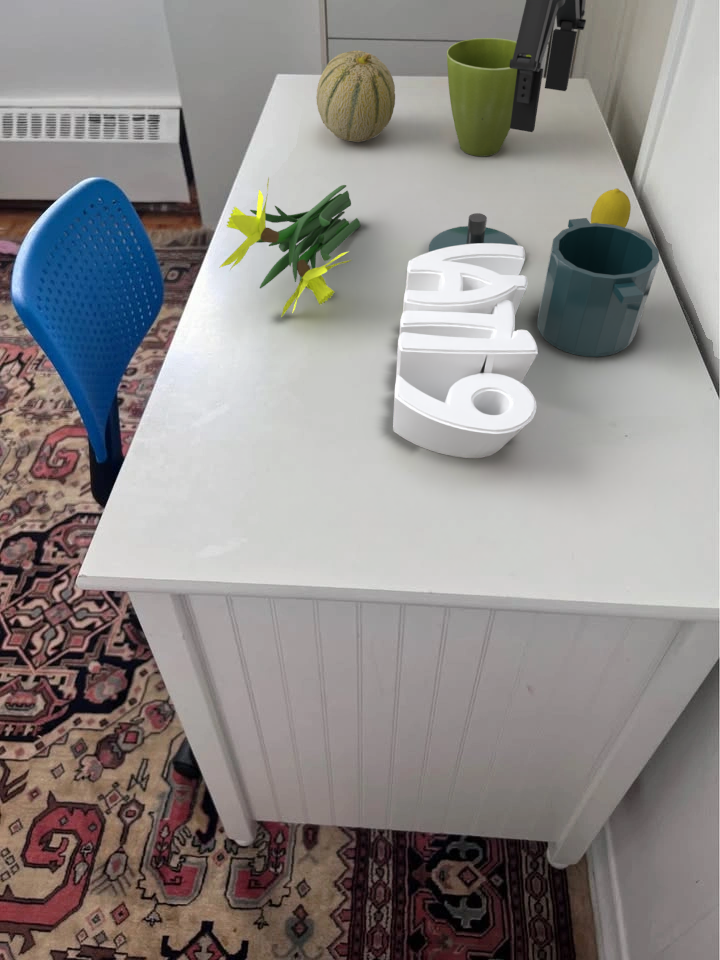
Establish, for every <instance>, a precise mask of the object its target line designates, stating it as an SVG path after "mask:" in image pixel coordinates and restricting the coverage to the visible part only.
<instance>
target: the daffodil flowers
mask: <svg viewBox="0 0 720 960" xmlns="http://www.w3.org/2000/svg"><path fill="white" fill-rule="evenodd" d="M269 182H270V177H268V178H267V184H266V186H267V187H266V188H267V189H266V190H267V191H269ZM345 188H347V185H346V184H341V185H340V186H338V187H337V188H334V190H333V191H331V192H329V193H328V194H327V195H326V196H325V197H324V198H322V200H320V201H319V202H318V203H317V204H316V205H315V206H313V207H312V208H311V209H310V210H307V211H303V212H299V213H295V214H287V213H286V212H284V211H283V210H282V209H281V208H280V207H279V206H277V205H274V208H275V210H276V211H277V214H279V215H277V214H271V213H267V212H266V210H267V209H266V208H267V200H268V193H269V192H266V198H265V202H264V195H263V193H262V191H261V190H260V189H258V194H257V203H256V210H255V209H250V210H249V212H251V213H252V214H254V215H255V216H254V215H247V214H246V213H244V212H243V211H241V210H240V209H239V208H238V207H237V206H233V207H232V208H233V209H231V213H229V215H230V217H227V219H228V220H227V221H226V223H227V224H225V227H227V228H229V229H233V230H237V231H239V232H241V234H243V235H244V236H245V237H246V238H245V240H244V241H243V242H242V243H241V244H240V245H239V246H238V247H237V248H236V249H235V250H234V251H233V252H232V253H231V254H230V255H229V256H228V257H227V258H226V259H225V261H223V263H222V264H221V265H220V266H219V269H221V268H223V267H225V266H228V265H231V264H232V265H231V268H230V270H229V271H231V270H232V269H233V268H234V267H235V266H236V265H238V264H240V262H241V261H242V260H243V259H244V258H245V256H246V254H247V253H248V251H249V249H250V247H251V246H253V245H255V244H257V243H258V244H259V243H260V244H261V243H269V244H268V247H273V246H277V245H278V249H279V250H280V251H281V252H282V253H285V254H284V255H283V256H282V257H281V258H279V260H278V261H277V262H276V263H275V264H274V265H273V266H272V268H271V269H270V270H269V271H268V273H267V274H266V275H265V277H264V278H263V280H262V282H261V283H260V286H259V289H262V288H264V287H265V286H266V285H268V284H269V283H270V282H271V281H273V280H274V279H275V278H276V277H277V276H278V275H280V274H281V273H282V272H283V271H284V270H285V269H287V268H288V267H291V266H292V274H293V279H294V283H296V282H297V278H298V276H299V282H298V285H297V286H296V288H295V291H294V292H293V294H291V295H290V297H289V298H288V299H287V301H286V302H285V303H284V305H283V307H282V313H281V315H280V318H283V316H284V315H285V314H286V312H287V311H288V310H289V308H290V307H291V306H292V305H293V309H292V312H291V313H292V314H293V313H294V312H295V309H296V307H297V302H298V300H299V298H300V296H301V295H302V293H303V291H304V290H305V289H306V288H307V289H308V290H310V291H312V294H313V295H314V296H315V299H316V301H317V303H318V304H319V305H323V304H326V302H328V301H329V299H331V298H332V297H333V296H334V294H335V293H336V291H335V290H333V289H332V288H331V287H329V286H328V285H327V282H326V280H325V278H324V276H323V275H324V274H326V273H327V272H328V271H329V270H331V269H333V268H334V267H335V268H336V266H339V265H341V264H347V263H349V262H351V261H352V259H349V260H343V261H340V262H336V263H333V262H335V261H336V260H338V259H340V258H342V257H343V256H345V255H346V254H347V253H349V252H350V251H346V252H341V253H340V254H338V255H336V256H335V257H334V258H332V256H331V254H332V253H333V252H334V251H335V250H336V249H337V248H339V246H341V244H342V243H344V242H345V241H346V240H347V239H348V238H349V237H350V236H351V235H352V234H354V233H355V231H357V230H358V229H359V228H361V222H360V220H359V218H358V217H355V219H353V220H352V221H351V222H349V220H347V219H346V218H345V217H344V218H342V219H341V217H342V216H343V215H344V214H345V212H346V211H345V210H347V209H348V208H349V207H351V206H352V201H351V198H350V193H349V191H348V190H346V191H344V192H343V193H340V192H342V191H343V190H344V189H345ZM266 222H270V223H273V224H276V223H286V222H289V223H291V224H290V225H289V226H287V227H285V228H283V229H281V230H278V231H277V230H274V229H272V228H270V227H266V226H267V225H266ZM287 251H288V252H287ZM319 251H320V252H319ZM318 252H319V253H320V257H321V259H322V260H323V261H324V262H326V261H328V262H327V263H325V264H324V265H321V266H317V264H316V263H317V253H318ZM309 263H310V265H309ZM332 263H333V264H332ZM316 266H317V267H316ZM293 303H294V304H293Z"/></svg>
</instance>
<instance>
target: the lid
mask: <svg viewBox="0 0 720 960" xmlns="http://www.w3.org/2000/svg"><path fill="white" fill-rule="evenodd" d="M487 221H488V217H487V215H486V214H484V213H478V212H477V213H471V214H470V215H469V216H468V221H467V225H465V226H457V227H452V228H449V229H446V230H443V231H442V232H439V233H438V234H436V235H435V236H434V237H433V238H432V239H431V241H430V242H429V245H428V252H431V251H434V250H438V249H442V248H446V247H451V246H457V245H465V244H477V243H497V244H510V245H518V246H520V245H519V244H518V242H517V241H516V240H515V239H514V238H513V237H512V236H510V235H509V234H507V233H505V232H503V231H501V230H498V229H495V228H490V227H487Z"/></svg>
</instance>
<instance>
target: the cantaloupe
mask: <svg viewBox="0 0 720 960" xmlns="http://www.w3.org/2000/svg"><path fill="white" fill-rule="evenodd" d="M395 91H396V85H395V82H394V78H393V75H392V74H391V71H390V70H389V68H388V67H387V65H386V64H385V63H384V62H382V61H381V60H380V59H379V58H378V57H377V56H376V55H374V54H372V53H370V52H366V51H364V50H350V51H345V52H342V53H339V54H337V55H336V56H334V57H333V58H331V60H329V62H328V63H327V65H326V66H325V68H324V70H323V71H322V74H321V76H320V78H319V80H318V83H317V87H316V97H315V98H316V99H315V100H316V106H317V112H318V113H319V116H320V120H321V122H322V123H323V124H324V126H325V128H326V129H327V130H329V131H330V132H331V133H332V134H333V135H334V136H335V137H337V138H338V139H341V140H344V141H347V142H354V143H362V142H366V141H370V140H371V139H374V138H375V137H377V136H378V135H380V134H381V133H382V132H383V131H384V130H385V129H386V128H387V126H388V125H389V123H390V122H391V119H392V117H393V114H394V109H395V105H396V92H395Z"/></svg>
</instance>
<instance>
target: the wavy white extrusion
mask: <svg viewBox="0 0 720 960" xmlns="http://www.w3.org/2000/svg"><path fill="white" fill-rule="evenodd" d="M518 245H519V244H518ZM518 245H510V244H497V243H477V244H465V245H457V246H451V247H446V248H442V249H438V250H434V251H431V252H429V251H428V252H425V253H422V254H420V255H418V256H415V257H413V258H411V259H410V260H408V262H407V267H406V278H405V279H406V280H405V291H404V294H403V305H402V314H401V316H400V320H399V321H400V323H399V334H398V335H399V336H398V338H397V350H396V351H397V353H396V373H395V376H396V377H395V385H394V395H393V396H394V400H393V416H392V417H393V418H392V419H393V420H392V431H393V432H394V433H395V434H397V435H398V436H399V437H401V438H403V439H404V440H406V441H408V442H409V443H412V444H413V445H416V446H417V447H420V448H422V449H425V450H428V451H431V452H433V453H438V454H441V455H446V456H449V457H456V458H464V459H482V458H486V457H489V456H493V455H494V454H496V453H497V452H499V451H500V450H501V449H502V448H503V447H504V446H505V445H507V443H509V442H510V441H511V440H512V439H513V438H514V437H515V436H517V434H518V433H520V432H521V430H523V429H524V428H526V426H527V425H529V423H530V422H531V421H532V420H533V419H534V417H535V415H536V413H537V401H536V398H535V396H534V394H533V393H532V392H531V390H530V389H529V387H527V386H526V385H524V384H523V381H524V379H525V377H526V376H527V373H528V371H529V369H530V368H531V366H532V365H533V362H534V361H535V359H536V357H537V356H538V353H539V352H538V351H539V350H538V345H537V343H536V342H537V341H536V340H535V338H534V337H533V335H532V334H531V333H530V332H529V331H528V330H526V329H517V330H515V327H516V326H515V325H516V317H515V316H516V314H517V312H518V309H519V307H520V304H521V302H522V299H523V297H524V295H525V292H526V290H527V288H528V285H529V283H528V277H527V276H526V275H524V274H521V272H522V269H523V267H524V263H525V261H526V251H525V247H524V246H522V245H519V246H518Z"/></svg>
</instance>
